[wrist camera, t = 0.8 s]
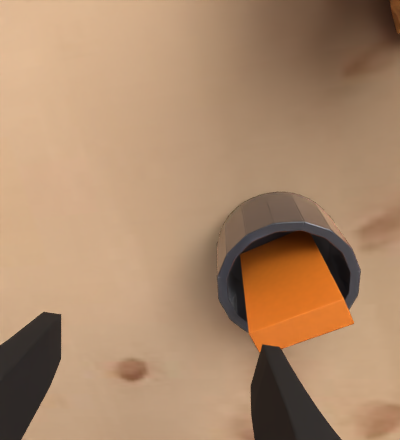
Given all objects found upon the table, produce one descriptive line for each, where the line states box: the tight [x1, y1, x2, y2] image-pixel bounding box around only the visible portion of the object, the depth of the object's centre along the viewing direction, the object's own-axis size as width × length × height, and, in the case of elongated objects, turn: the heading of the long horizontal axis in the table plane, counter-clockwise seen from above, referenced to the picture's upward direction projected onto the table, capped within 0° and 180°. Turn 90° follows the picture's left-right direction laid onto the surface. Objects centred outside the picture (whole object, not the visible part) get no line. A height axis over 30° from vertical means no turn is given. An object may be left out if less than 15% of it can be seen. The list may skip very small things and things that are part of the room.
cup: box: [217, 192, 361, 333], centre depth 21 cm, size 7×7×4 cm
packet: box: [240, 231, 354, 353], centre depth 19 cm, size 1×4×7 cm, turn 117°
